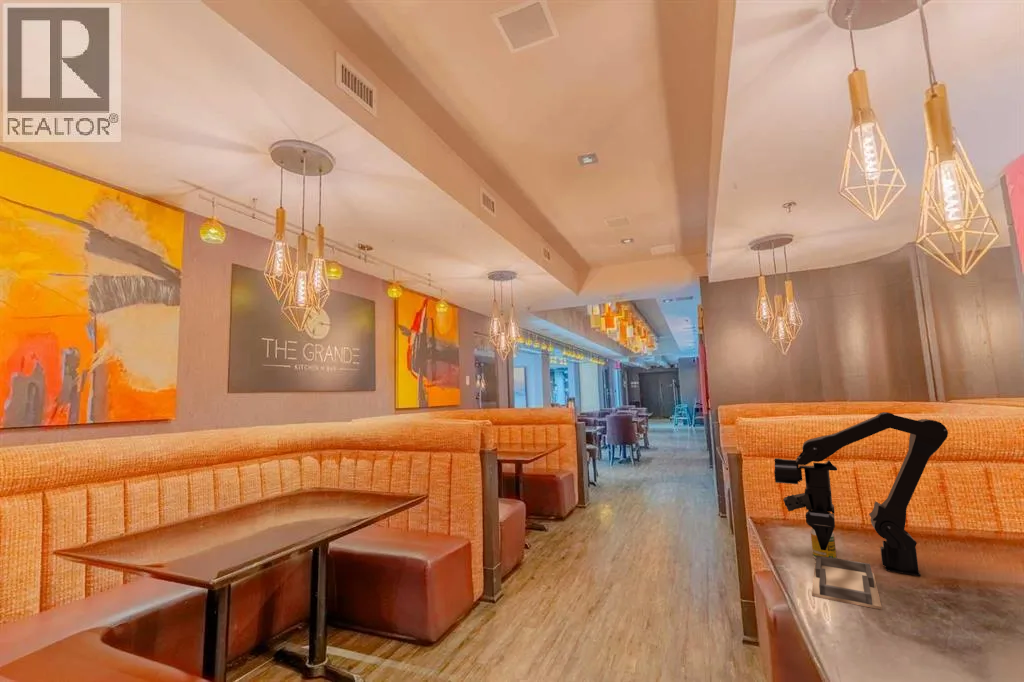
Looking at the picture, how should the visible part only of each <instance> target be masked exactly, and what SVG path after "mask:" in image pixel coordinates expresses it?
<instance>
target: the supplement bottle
mask: <svg viewBox="0 0 1024 682" xmlns="http://www.w3.org/2000/svg"><path fill="white" fill-rule="evenodd" d="M810 538H811V550H812V556H813V558H814V559H815V560H816V555H817V556H824V557H830V558H836V559H838V558H837V551H836V539H835V538H836V537H835V533H834V532H833V533H832V535H831V538H830V541H829V543H828V546H827V549H826V550H821V548H820V545H819V542H818V539H817V536H816V533H815V530H814V529H813V528H811V530H810Z"/></svg>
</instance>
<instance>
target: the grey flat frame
mask: <svg viewBox="0 0 1024 682" xmlns="http://www.w3.org/2000/svg"><path fill="white" fill-rule="evenodd" d="M836 558H837V557H836ZM836 558H830V557H824V556H817V555H816V559H815V563H814V566H813V569H814V570H813V579H812V587H811V589H812V590H811V595H812V597H815V596H816V597H815V598H820V599H821V598H822V599H826V600H831V601H834V602H835V601H836V602H840V603H841V602H842V603H844V604H845V603H846V604H852V605H858V606H861V607H866V608H871V609H875V610H881V611H882V610H883V607H882V604H881V598H880V595H879V589H878V587H877V586H878V585H877V583H876V577H875V573H874V572H872V566H871V564H870V563H868V562H867V563H866V562H861V561H856V560H855V561H854V560H848V559H842V558H837V559H836Z"/></svg>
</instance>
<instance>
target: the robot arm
mask: <svg viewBox="0 0 1024 682" xmlns="http://www.w3.org/2000/svg"><path fill="white" fill-rule="evenodd" d="M888 429H892V430H896V431H900V432H904V433H908V434H909V439H908V449H907V452H906V455H905V457H904V460H903V462H902V464H901V467H900V468H899V470H898V472H897V475H896V478H895V480H894V482H893V484H892V487H891V489H890V491H889V493H888V496H887V497H886V499H885V500H884V501H883V502H882V503H879V502H878V501H874V504H873V509H872V510H871V511H870V513H869V514H868V515H869V517H870V523H871V525H872V527H873V529H874V530H875V533H877V535H878V536H880V537H881V538H883V540H882V546H880V547H879V548H880V558H881V564H882V566H883V567H884V568H885V570H886V571H888V572H891V573H898V574H903V575H904V574H905V575H909V576H910V575H912V576H915V577H916V576H917V577H921V571H919V565H918V564H919V563H918V556H917V555H918V553H917V549H916V547H917V544H918V543H917V541H916V540H915V539H914V537H913V536H912V535H911V534H910V533H909V532H908V531H906V529H905V528H906V523H907V511H908V510H907V509H908V506H909V503H910V502H911V500H912V497H913V495H914V493H915V491H916V488H917V485H918V483H919V482H920V479H921V477H922V475H923V473H924V471H925V468H926V466H927V464H928V463H929V462H928V461H929V459H930V458H931V457H932V456H933V455H934V454H935V453H936V452H937V451H938V450H939V449H940V448H941V446H942V445H943V443H944V442H946V440H947V438H948V436H949V431H948V429H947V428H946V426H945V425H944V424H943V423H942V422H940V421H938V420H933V419H929V418H928V419H926V418H924V419H923V418H922V419H918V420H917V419H912V418H907V417H903V416H900V415H897V414H893V413H891V412H887V411H883V412H879V413H878V414H877V415H875V416H873V417H870V418H868V419H865V420H863V421H861V422H858V423H857V424H854V425H852V426H849V427H847V428H844V429H842V430H840V431H838V432H834V433H832V434H826V435H821V436H817V437H812V438H809V439H807V440H805V441H804V442H803V444H802V451H801V453H800V454H799V455H798V456H797V457H796V458H795V459H783V458H777V457H776V458H774V459H773V461H774V472H773V474H774V483H775V484H788V485H789V484H790V485H799V482H800V483H801V482H802V481H803V472H802V469H804V481H805V489H804V492H803V493H798V494H791V495H787V496H785V497H783V502H784V506H785V507H786V509H787V512H793V511H794V510H799V509H803V508H805V510H807V511H806V513H805V522H806V525H807V526H809V527H810V528H811V529H814V530H815V533H816V536H817V539H818V542H819V545H820V548H821V550H826V549H827V546H828V543H829V541H830V538H831V535H832V533H834V530H835V527H836V522H835V520H836V519H835V504H833V497H832V488H831V478H830V477H831V476H830V471H835V472H837V471H838V468H837V467H836V465H834V464H833V463H832V462H831V460H829V459H828V460H827V461H826V462H824V463H823V462H822V461H824V460H826V459H827V458H829V457H830V456H833V455H834V454H835V453H837V452H838V451H839V450H841V449H842V448H844V447H846V446H849V445H851V444H853V443H857V442H858V441H860V440H863V439H866V438H868V437H870V436H873V435H876V434H877V433H880V432H883V431H885V430H888ZM812 462H813V465H809V464H811V463H812Z"/></svg>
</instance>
